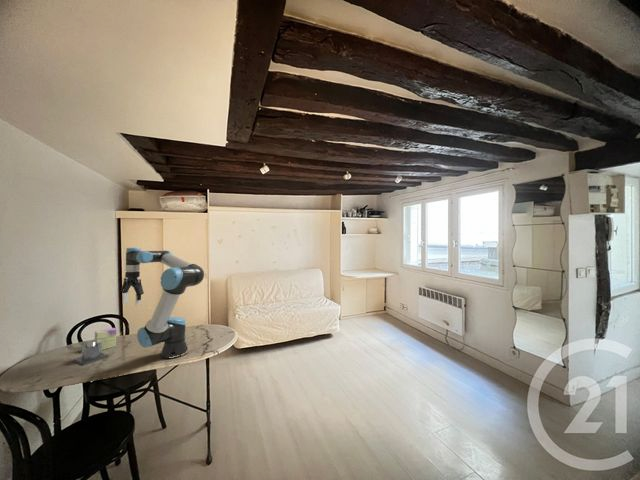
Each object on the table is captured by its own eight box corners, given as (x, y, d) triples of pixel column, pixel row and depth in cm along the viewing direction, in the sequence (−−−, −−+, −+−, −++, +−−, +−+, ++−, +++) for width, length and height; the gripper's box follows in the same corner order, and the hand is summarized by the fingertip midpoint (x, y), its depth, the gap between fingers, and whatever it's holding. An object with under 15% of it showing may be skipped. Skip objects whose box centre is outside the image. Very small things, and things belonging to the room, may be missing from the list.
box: (113, 344, 175) (114, 327, 176) (116, 346, 172) (116, 329, 172) (93, 349, 167) (94, 331, 167) (96, 351, 164) (97, 333, 164)
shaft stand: (108, 357, 156) (108, 340, 156) (83, 365, 145) (84, 347, 145) (97, 353, 161) (98, 337, 161) (73, 361, 150) (73, 343, 150)
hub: (102, 355, 155) (103, 344, 155) (86, 361, 148) (87, 349, 148) (95, 353, 158) (96, 342, 158) (79, 358, 151) (80, 346, 151)
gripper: (150, 271, 161) (149, 304, 161) (127, 269, 171) (126, 300, 171) (138, 273, 154) (137, 307, 154) (114, 270, 164) (113, 303, 164)
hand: (131, 304), depth 162 cm, fingers open, 13 cm apart
